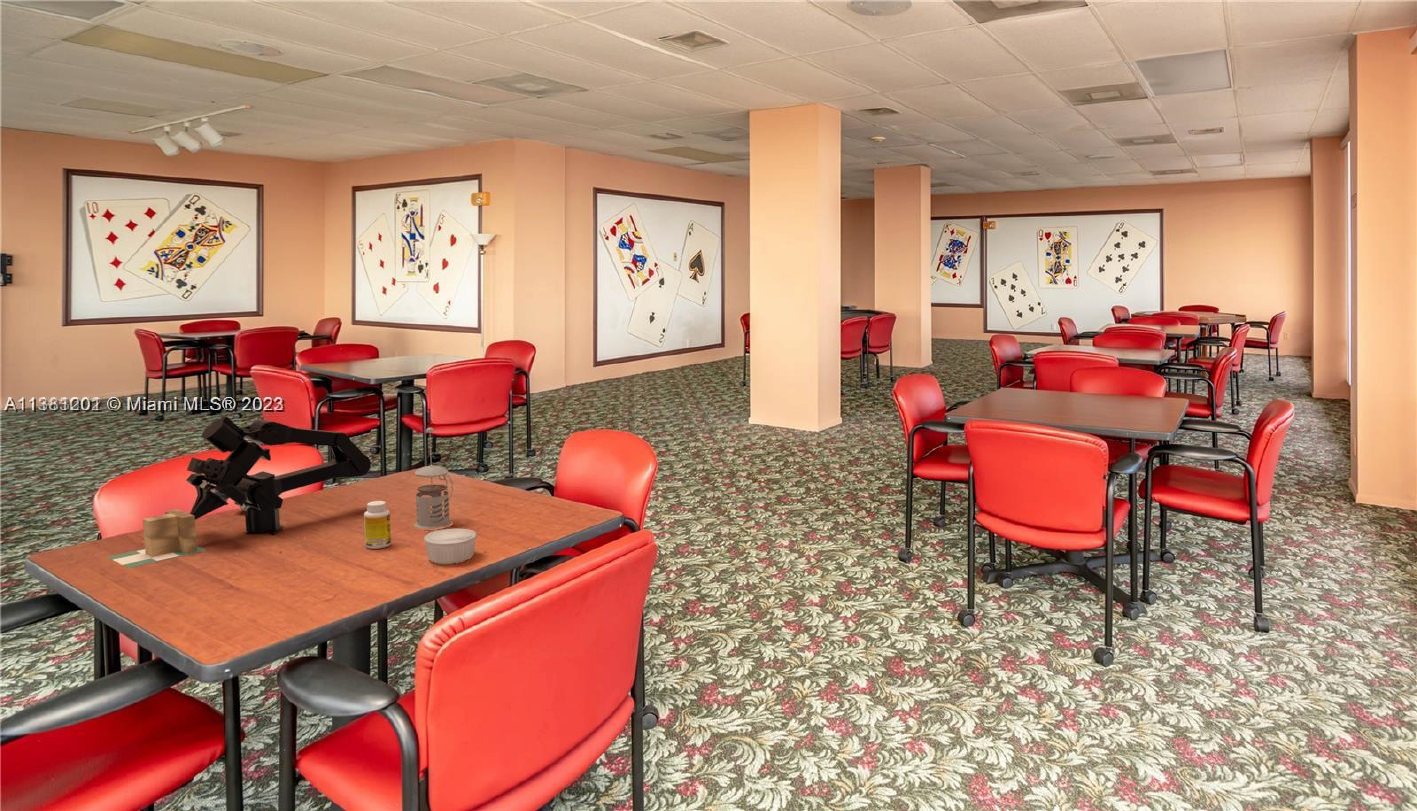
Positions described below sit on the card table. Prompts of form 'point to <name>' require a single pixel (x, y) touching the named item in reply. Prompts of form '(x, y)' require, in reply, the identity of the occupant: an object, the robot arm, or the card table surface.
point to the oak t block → (169, 533)
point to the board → (146, 557)
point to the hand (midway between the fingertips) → (190, 519)
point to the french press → (424, 503)
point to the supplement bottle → (377, 525)
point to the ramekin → (450, 545)
